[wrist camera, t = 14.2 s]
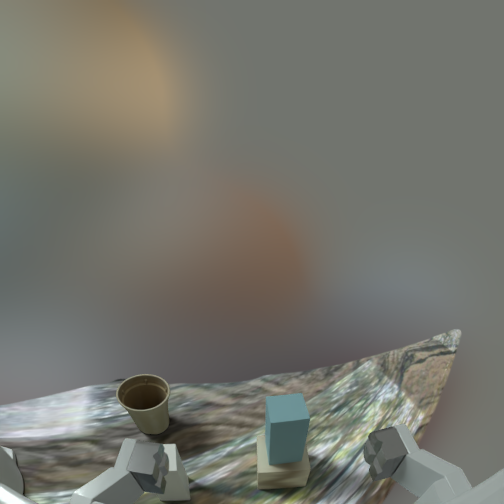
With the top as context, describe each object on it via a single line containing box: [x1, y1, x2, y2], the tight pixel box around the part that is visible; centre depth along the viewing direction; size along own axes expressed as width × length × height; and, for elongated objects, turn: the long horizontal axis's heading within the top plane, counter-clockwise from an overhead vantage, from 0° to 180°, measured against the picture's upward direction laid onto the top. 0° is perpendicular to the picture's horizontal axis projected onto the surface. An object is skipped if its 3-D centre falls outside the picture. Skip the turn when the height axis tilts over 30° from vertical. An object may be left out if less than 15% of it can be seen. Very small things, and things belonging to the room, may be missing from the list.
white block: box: [156, 444, 191, 501], centre depth 29 cm, size 4×4×10 cm
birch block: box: [257, 435, 311, 489], centre depth 34 cm, size 7×7×6 cm
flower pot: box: [116, 374, 170, 434], centre depth 42 cm, size 9×9×9 cm
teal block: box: [265, 393, 310, 465], centre depth 32 cm, size 4×4×10 cm
